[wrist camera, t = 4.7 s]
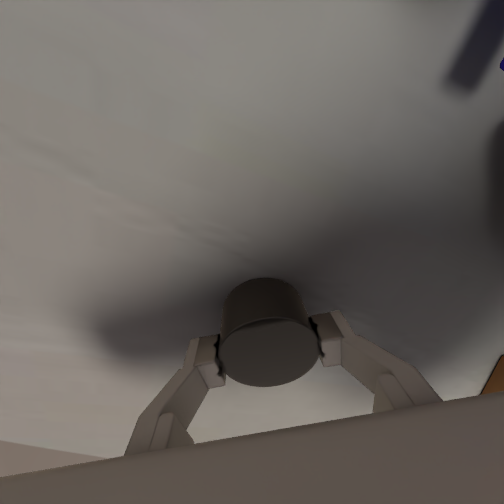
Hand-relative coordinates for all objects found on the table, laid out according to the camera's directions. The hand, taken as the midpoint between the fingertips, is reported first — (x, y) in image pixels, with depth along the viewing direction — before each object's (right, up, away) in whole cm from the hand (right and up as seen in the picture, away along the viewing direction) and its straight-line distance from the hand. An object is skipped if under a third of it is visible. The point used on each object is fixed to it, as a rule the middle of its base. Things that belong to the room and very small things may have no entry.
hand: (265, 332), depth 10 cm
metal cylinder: (0, +1, +1) cm, 2 cm away
